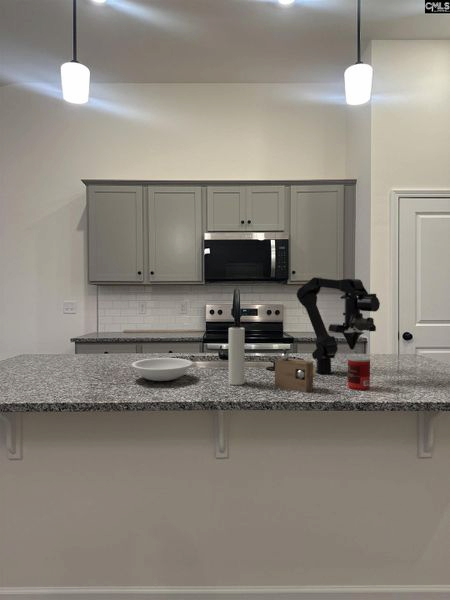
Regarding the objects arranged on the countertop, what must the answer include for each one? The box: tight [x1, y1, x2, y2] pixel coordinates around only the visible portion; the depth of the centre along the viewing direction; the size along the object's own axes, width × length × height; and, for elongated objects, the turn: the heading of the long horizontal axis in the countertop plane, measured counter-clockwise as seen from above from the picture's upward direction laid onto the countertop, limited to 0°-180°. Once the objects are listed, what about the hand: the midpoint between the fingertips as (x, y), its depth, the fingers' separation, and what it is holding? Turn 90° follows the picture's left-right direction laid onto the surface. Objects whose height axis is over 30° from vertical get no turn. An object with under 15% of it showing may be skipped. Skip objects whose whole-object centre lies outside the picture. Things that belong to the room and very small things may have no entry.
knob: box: [296, 365, 317, 379], centre depth 139 cm, size 7×6×6 cm
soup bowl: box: [131, 357, 194, 382], centre depth 154 cm, size 24×24×7 cm
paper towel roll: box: [228, 326, 246, 386], centre depth 147 cm, size 7×6×21 cm
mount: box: [274, 358, 314, 393], centre depth 141 cm, size 7×12×10 cm, turn 54°
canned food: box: [347, 355, 371, 391], centre depth 141 cm, size 8×8×11 cm
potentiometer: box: [280, 348, 290, 361], centre depth 142 cm, size 3×3×4 cm
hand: (352, 349), depth 155 cm, fingers closed
